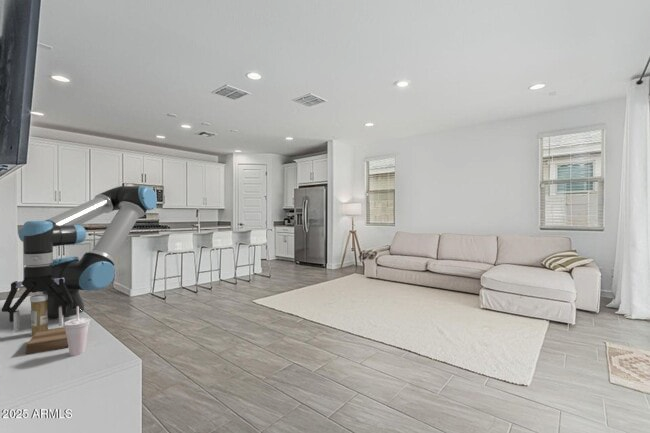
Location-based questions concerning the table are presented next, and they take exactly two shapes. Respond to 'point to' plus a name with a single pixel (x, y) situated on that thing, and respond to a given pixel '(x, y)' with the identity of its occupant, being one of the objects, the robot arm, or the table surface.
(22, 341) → the table surface
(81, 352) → the smoothie
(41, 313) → the sprinkles bottle
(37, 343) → the walnut base
